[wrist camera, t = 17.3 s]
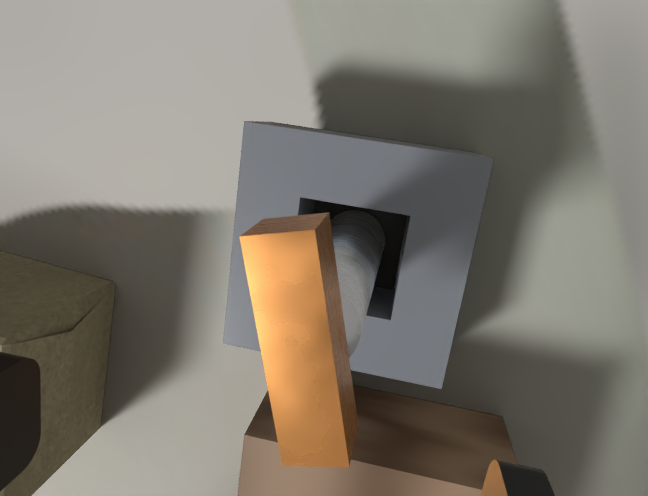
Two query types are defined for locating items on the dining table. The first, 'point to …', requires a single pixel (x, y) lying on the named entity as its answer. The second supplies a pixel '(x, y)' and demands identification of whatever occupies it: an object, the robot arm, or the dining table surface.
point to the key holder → (378, 194)
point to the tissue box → (57, 354)
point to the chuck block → (384, 452)
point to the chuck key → (312, 325)
